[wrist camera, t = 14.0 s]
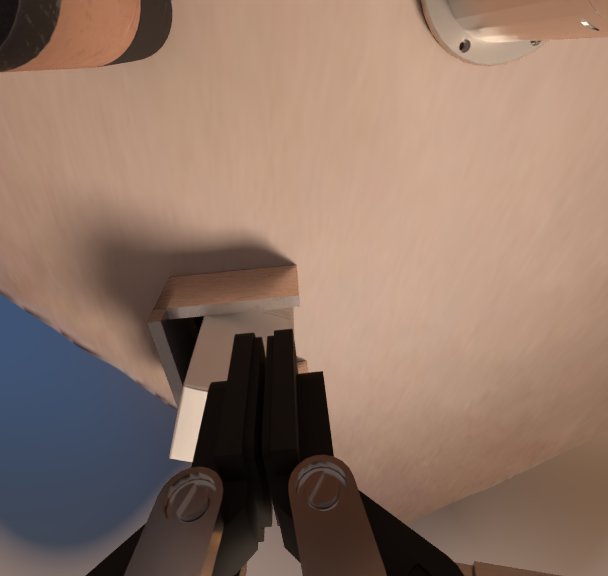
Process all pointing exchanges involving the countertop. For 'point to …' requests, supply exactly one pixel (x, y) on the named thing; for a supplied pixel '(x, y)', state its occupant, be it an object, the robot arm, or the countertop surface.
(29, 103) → the countertop surface
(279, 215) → the countertop surface
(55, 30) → the travel mug
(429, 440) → the countertop surface
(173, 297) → the bracket
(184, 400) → the supplement box
